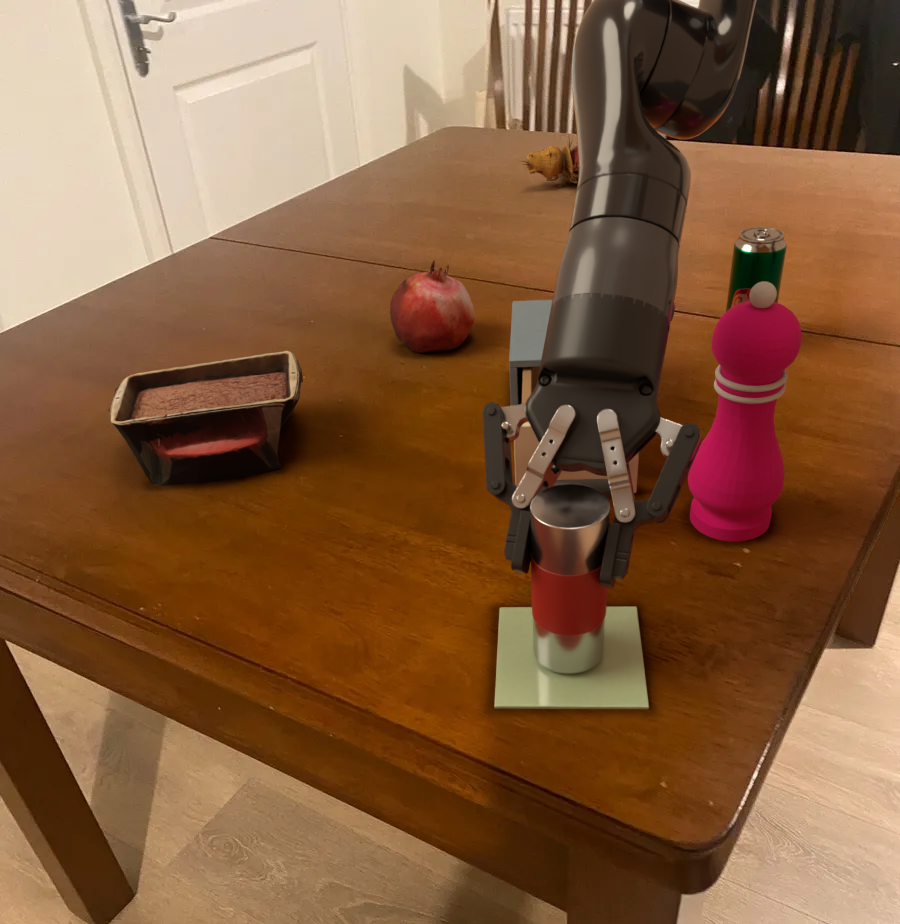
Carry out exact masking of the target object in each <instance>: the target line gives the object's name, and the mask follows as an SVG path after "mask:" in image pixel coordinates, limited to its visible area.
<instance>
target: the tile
mask: <svg viewBox="0 0 900 924" xmlns="http://www.w3.org/2000/svg"><path fill="white" fill-rule="evenodd" d="M497 630H498V631H497V649H496V666H495V684H494V687H495V688H494V703H493V707H494V709H495V710H497V709H498V710H499V709H500V710H503V709H504V710H509V709H510V710H649V709H650V703H649V694H648V686H647V679H646V678H647V677H646V671H645V670H646V669H645V662H644V653H643V645H642V637H641V629H640V622H639V613H638V607H637V606H636V605H635V606H634V605H632V606H629V605H628V606H627V605H626V606H624V605H623V606H622V605H621V606H620V605H619V606H606V616H605V631H604V652H603V656H602V658H601V660H600V661H599V662H598V663H597V664H596V665H595V666H594V667H592V668H591V669H589V670H586V671H583V672H580V673H573V674H566V673H559V672H555V671H552V670H550V669H547V668H546V667H544V666H543V665H542V664H540V662H539V661H538V660H537V659H536V657H535V655H534V650H533V615H532V606H508V607H507V606H506V607H505V606H501V607H499V610H498V627H497Z"/></svg>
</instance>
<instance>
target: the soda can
mask: <svg viewBox="0 0 900 924" xmlns="http://www.w3.org/2000/svg"><path fill="white" fill-rule="evenodd" d="M785 235H786V234H785V232H784V231H783V230H781V229H780V228H779V229H778V228H775V227H771V226H770V227H769V226H754V227H753V226H751V227H747V228H745V229H742V230H741V231H739V233H738V238H737V239H736V240H735V242H734V243H733V248H732V258H731V265H730V274H729V280H728V281H729V282H728V290H727V297H726V298H727V300H726V305H725V306H726V307H725V312H726V311H728V310H729V309H730V308H732V307H734V306H735V305H738V304H740V303H743V302H746V301H750V298H749V294H750V291H751V289H752V287H753V286H754V285H755V284H757V283H759V282H762V281H765V282H769V283H772V284H773V285H774V287H775V288H776V291H777V296H776V299H775V301H774V302H776V303H779V298H780V291H781V285H782V280H783V279H782V278H783V273H784V272H783V271H784V266H785V259H786V253H787V248H788V247H787V246H788V245H787V242H786V239H785Z"/></svg>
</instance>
